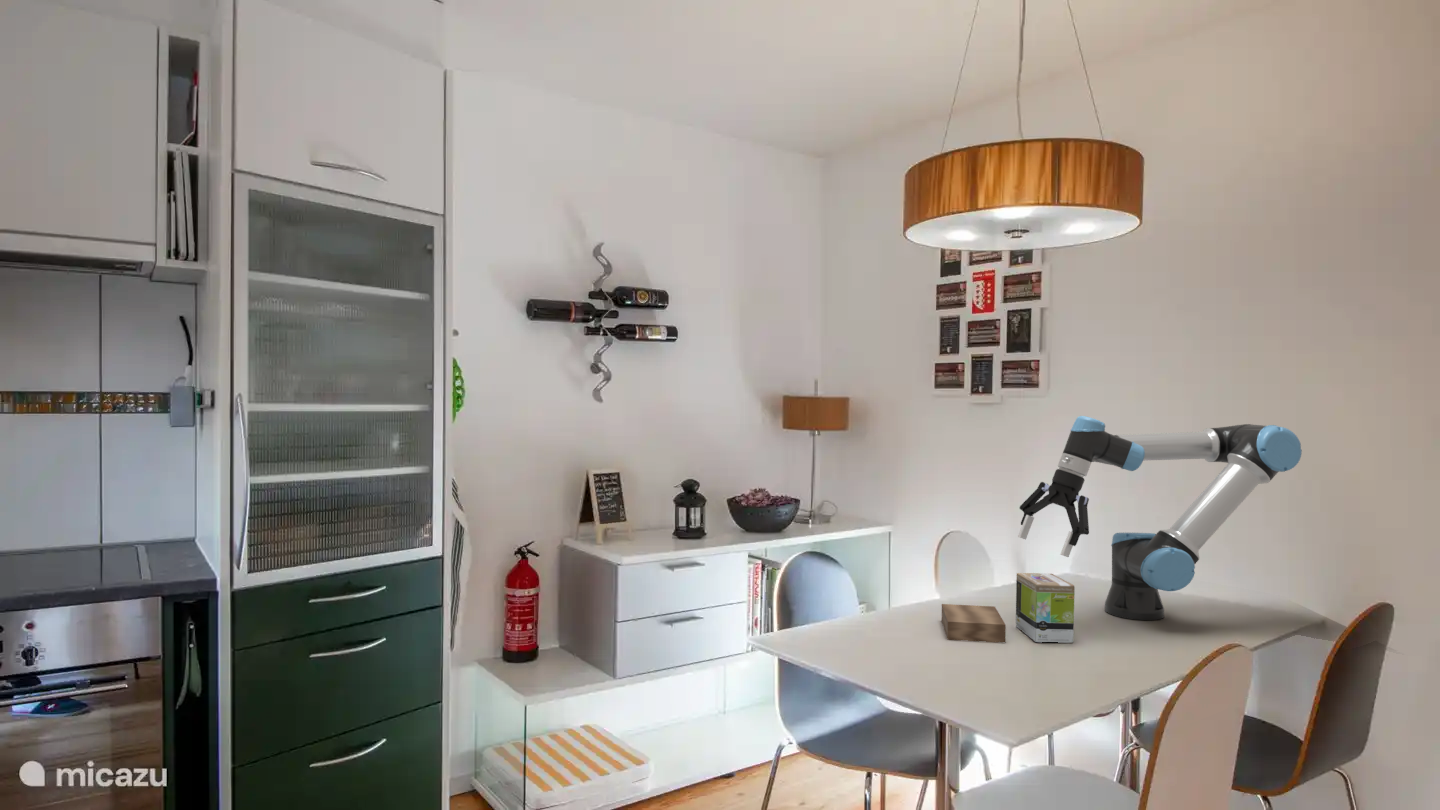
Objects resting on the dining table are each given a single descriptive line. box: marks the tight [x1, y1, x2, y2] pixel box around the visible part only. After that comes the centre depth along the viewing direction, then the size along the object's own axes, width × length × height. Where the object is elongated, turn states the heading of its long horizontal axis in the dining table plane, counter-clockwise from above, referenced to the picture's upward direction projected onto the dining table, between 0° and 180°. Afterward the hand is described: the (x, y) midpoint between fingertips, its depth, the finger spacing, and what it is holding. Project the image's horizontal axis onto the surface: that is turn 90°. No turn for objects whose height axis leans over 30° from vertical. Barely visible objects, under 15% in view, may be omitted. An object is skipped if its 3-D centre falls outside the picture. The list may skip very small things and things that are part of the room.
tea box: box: [1015, 572, 1076, 644], centre depth 215 cm, size 15×10×15 cm
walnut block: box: [941, 603, 1007, 643], centre depth 218 cm, size 14×18×5 cm
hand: (1042, 547), depth 223 cm, fingers open, 13 cm apart
